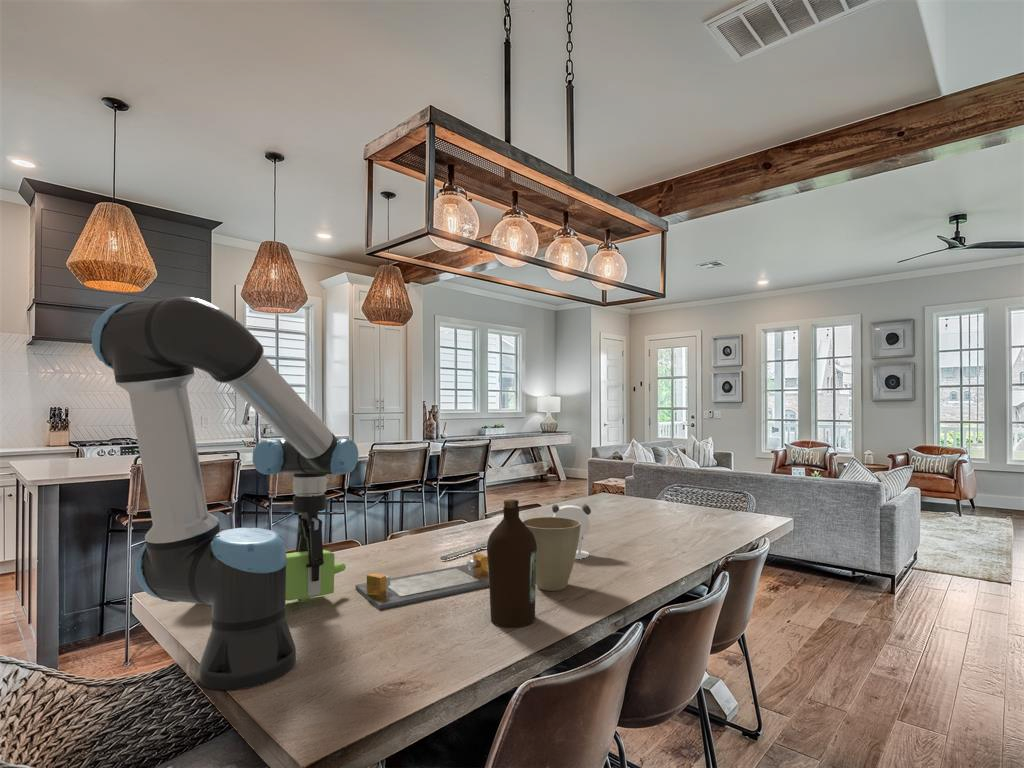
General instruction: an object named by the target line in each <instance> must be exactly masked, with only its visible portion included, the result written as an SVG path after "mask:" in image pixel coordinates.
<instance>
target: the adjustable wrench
mask: <svg viewBox="0 0 1024 768" xmlns="http://www.w3.org/2000/svg"><path fill="white" fill-rule="evenodd" d="M487 543H488V540H483V541H479V542H477V543H476V545H474V546H471V547H468V548H464V549H461V550H457V551H454V552H452V553H451V552H450V553H448V554H444V555H441V556H440V557H439V560H440V559H441V560H447V559H450V558H453V557H457V556H459V555H462V554H465V553H468V552H472V551H474V550H478V549H481V548H486V547H487Z"/></svg>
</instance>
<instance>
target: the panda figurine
mask: <svg viewBox="0 0 1024 768" xmlns="http://www.w3.org/2000/svg"><path fill="white" fill-rule="evenodd" d="M551 508H552V509H551V510H552V513H553V516H552V517H560V518H569V519H574V520H577V521H579V522H580V523H581V526H580V534H579V541H578V547H577V552H576V556H575V559H580V560H583V559H582V558H585V559H587V558H589V557H590V553H589V552H588V551H585V550H583V549H582V542H583V540H584V536H586V534H587V533H588V531H589V530H590V527H591V522H590V519H589V516H588V515H591V513H592V509H591V508H590V506H589V505H588V504H583V505H582V506H581V507H580V506H577V505H571V504H569V505H562V506H559V505H558V504H553V505H552V507H551ZM588 556H589V557H588ZM586 557H587V558H586Z"/></svg>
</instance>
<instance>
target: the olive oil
mask: <svg viewBox="0 0 1024 768" xmlns="http://www.w3.org/2000/svg"><path fill="white" fill-rule="evenodd" d="M502 512H503V518H502V520H501V521H500V522H499V523H498V525H497V526H496V527H494V529H493V530H492V531H491V533H490V534H489V537H488V539H487V541H488V543H487V549H486V556H487V558H488V573H489V587H488V588H489V607H490V621H491V623H493V624H494V625H496V626H498V627H503V628H511V629H513V628H514V629H515V628H522V627H527V626H529V625H531V624H533V623H534V622H535V620H536V589H537V585H536V559H537V544H536V540H535V537H534V535H533V533H532V532H531V530H530V529H529V528H528V527H527V526H526V525H525V524H524V523H523V522H522V521H523V520H522V519H521V518H520V506H519V500H518V499H513V498H509V499H503V511H502Z"/></svg>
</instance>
